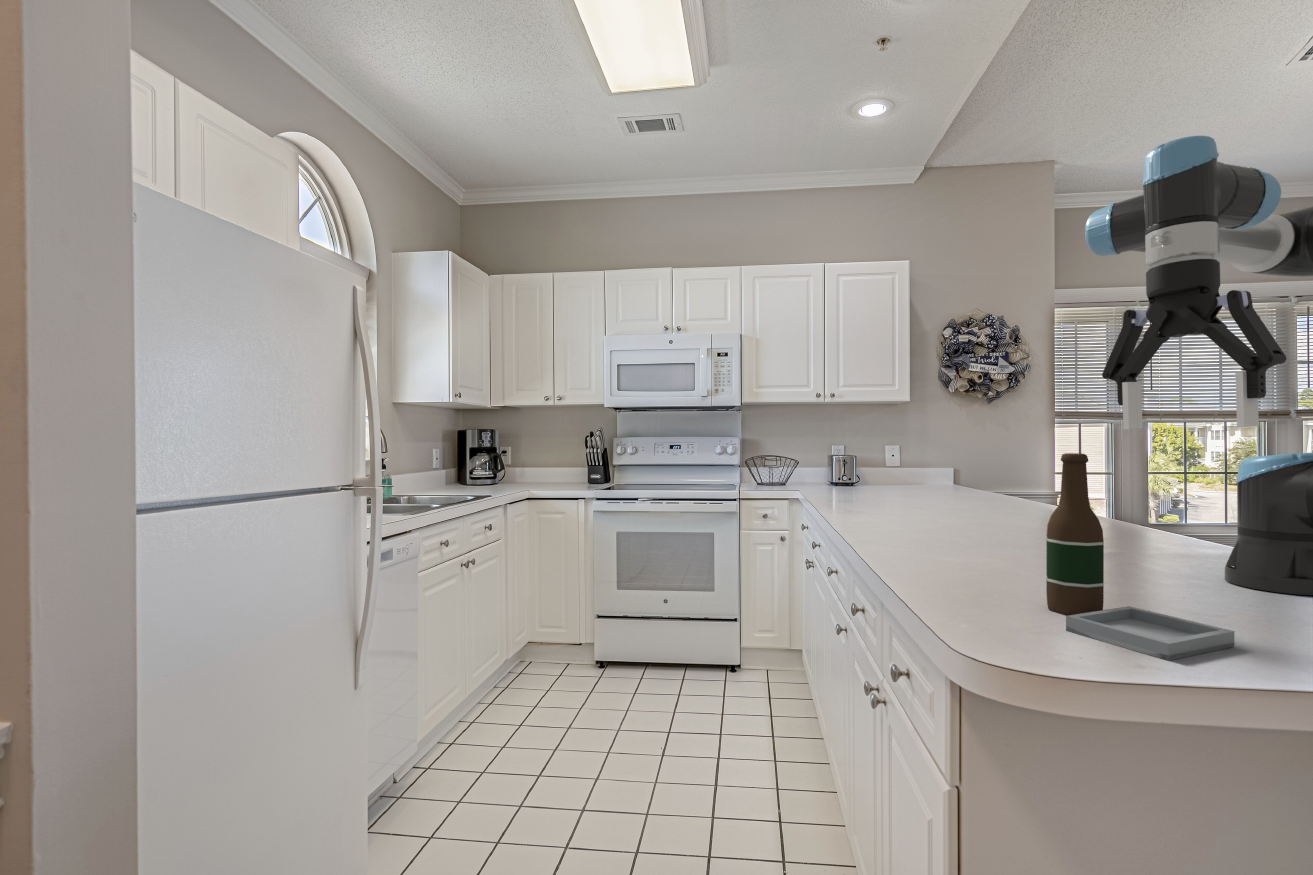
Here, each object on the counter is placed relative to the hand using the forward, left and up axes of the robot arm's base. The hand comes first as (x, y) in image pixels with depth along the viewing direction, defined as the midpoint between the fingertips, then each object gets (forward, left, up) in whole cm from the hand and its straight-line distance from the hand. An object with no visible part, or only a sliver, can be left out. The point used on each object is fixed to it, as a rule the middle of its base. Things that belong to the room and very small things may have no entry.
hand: (1186, 428), depth 86 cm
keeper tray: (+3, -3, -28) cm, 28 cm away
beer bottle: (-1, -16, -28) cm, 32 cm away
